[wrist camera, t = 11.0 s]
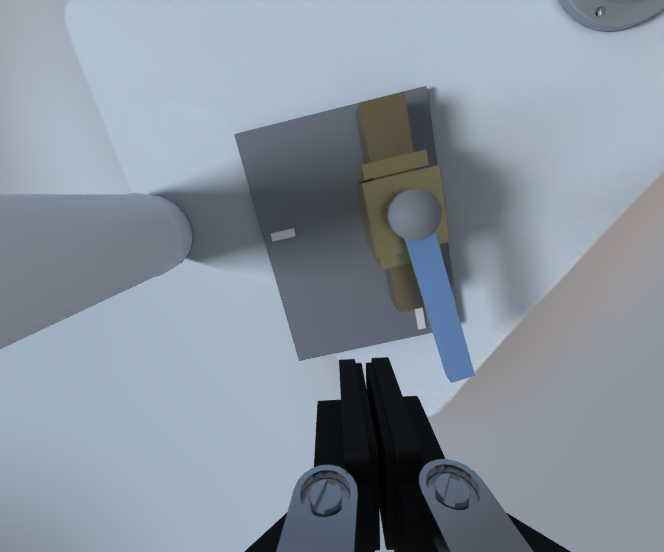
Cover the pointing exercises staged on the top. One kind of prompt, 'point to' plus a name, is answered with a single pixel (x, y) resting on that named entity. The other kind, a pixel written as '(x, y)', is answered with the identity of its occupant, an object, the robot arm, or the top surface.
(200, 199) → the top surface
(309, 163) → the base plate
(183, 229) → the bottle
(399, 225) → the lever
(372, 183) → the valve
